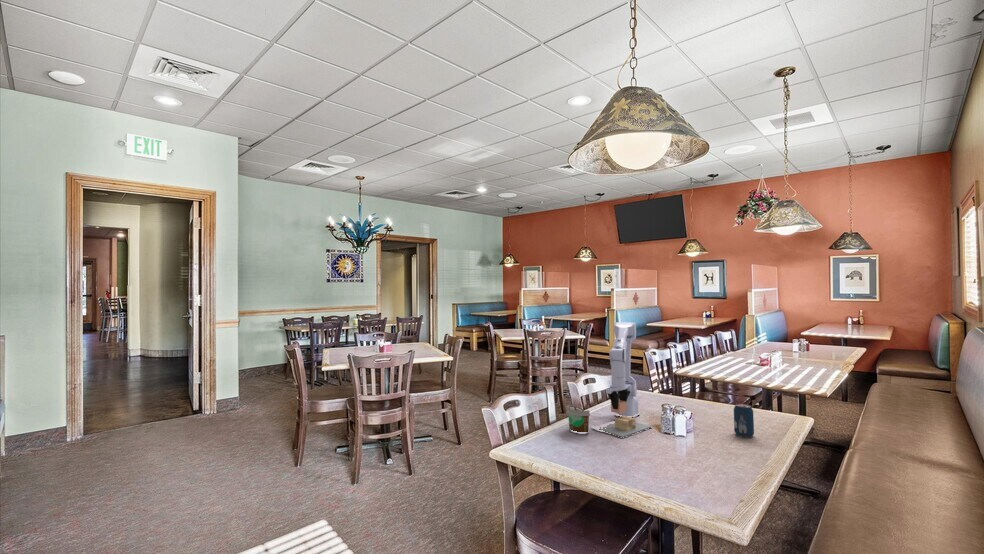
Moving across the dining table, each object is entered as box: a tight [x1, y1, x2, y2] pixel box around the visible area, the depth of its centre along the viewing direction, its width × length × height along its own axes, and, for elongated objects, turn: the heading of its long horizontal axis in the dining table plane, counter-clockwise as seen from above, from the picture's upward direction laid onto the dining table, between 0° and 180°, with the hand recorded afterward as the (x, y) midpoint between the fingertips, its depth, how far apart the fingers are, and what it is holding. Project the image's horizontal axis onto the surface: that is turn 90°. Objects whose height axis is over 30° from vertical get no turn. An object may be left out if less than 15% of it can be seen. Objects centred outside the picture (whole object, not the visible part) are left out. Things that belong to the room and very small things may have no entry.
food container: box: [566, 403, 591, 433], centre depth 187 cm, size 12×6×10 cm, turn 25°
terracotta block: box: [610, 400, 626, 414], centre depth 191 cm, size 4×4×4 cm
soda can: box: [733, 403, 755, 438], centre depth 179 cm, size 7×7×12 cm
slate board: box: [599, 422, 652, 439], centre depth 190 cm, size 20×16×1 cm
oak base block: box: [614, 416, 637, 431], centre depth 188 cm, size 6×6×4 cm
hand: (619, 408), depth 191 cm, fingers closed on terracotta block, 4 cm apart
